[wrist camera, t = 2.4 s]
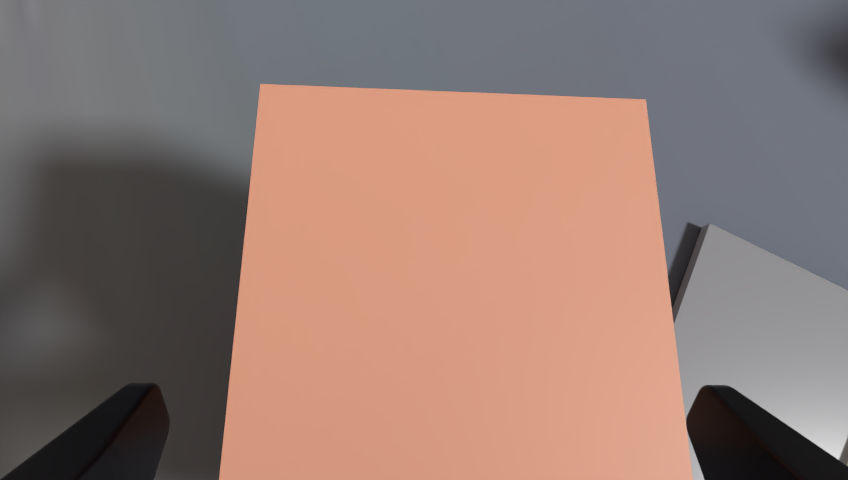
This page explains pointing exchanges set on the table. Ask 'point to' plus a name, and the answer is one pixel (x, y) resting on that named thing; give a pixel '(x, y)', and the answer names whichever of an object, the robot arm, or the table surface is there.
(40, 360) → the table surface
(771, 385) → the two-wall tray
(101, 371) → the table surface
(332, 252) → the terracotta block
